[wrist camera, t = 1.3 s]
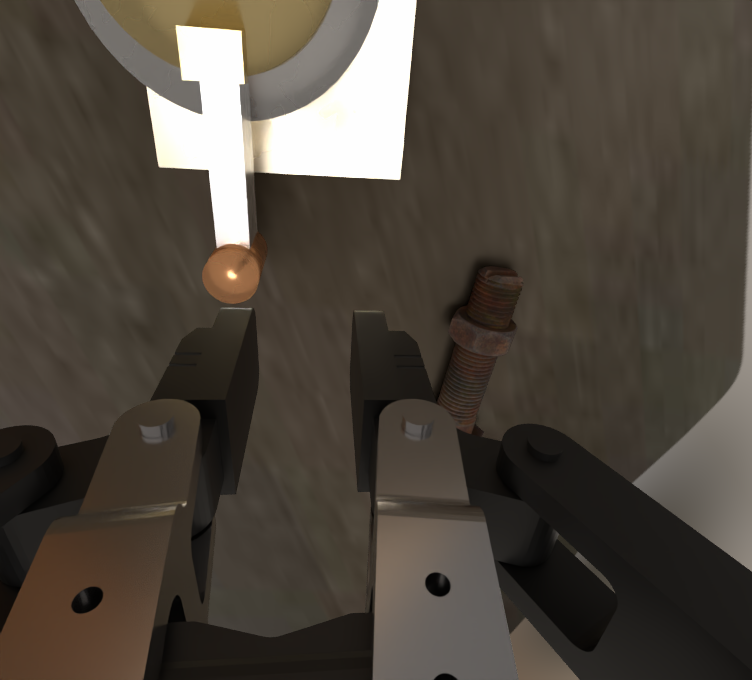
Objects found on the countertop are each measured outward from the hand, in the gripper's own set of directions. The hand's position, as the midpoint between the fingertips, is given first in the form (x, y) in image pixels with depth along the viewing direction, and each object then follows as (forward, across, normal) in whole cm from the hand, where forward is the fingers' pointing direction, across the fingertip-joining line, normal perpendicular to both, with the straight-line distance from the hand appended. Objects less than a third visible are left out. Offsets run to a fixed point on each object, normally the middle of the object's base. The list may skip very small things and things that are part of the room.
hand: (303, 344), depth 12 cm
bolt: (+21, -12, +13) cm, 28 cm away
